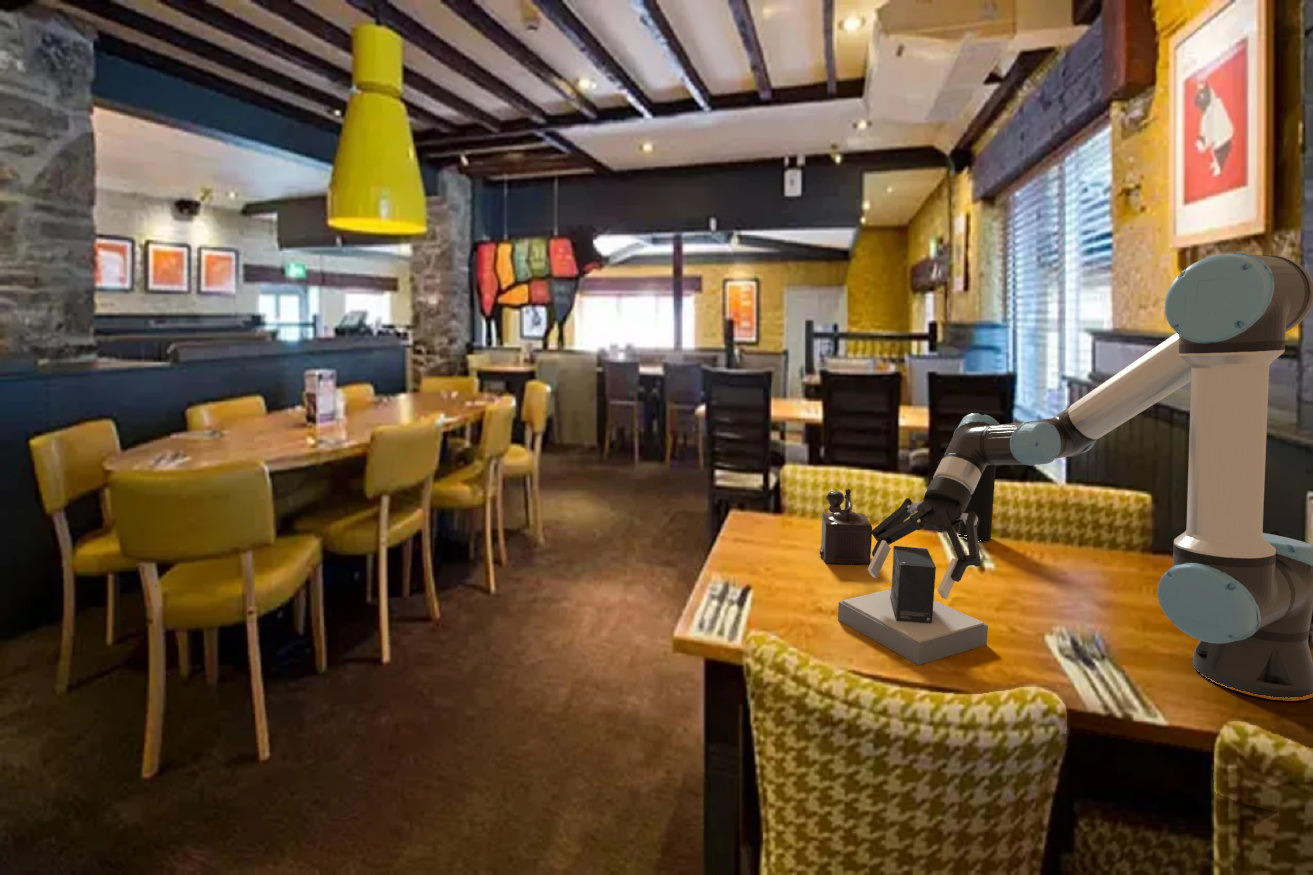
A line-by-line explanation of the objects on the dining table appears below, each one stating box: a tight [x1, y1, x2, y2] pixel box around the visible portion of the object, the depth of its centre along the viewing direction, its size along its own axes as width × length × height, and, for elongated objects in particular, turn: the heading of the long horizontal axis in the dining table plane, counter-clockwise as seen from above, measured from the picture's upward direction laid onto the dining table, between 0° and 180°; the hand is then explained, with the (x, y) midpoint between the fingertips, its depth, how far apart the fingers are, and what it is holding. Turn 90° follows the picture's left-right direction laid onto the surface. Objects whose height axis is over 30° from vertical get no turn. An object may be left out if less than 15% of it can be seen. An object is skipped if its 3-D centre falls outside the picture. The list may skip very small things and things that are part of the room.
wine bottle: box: [957, 465, 997, 543], centre depth 183 cm, size 8×8×30 cm
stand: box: [837, 588, 989, 666], centre depth 132 cm, size 20×16×4 cm
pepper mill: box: [819, 488, 873, 566], centre depth 169 cm, size 16×11×18 cm
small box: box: [890, 545, 937, 623], centre depth 131 cm, size 11×6×10 cm, turn 168°
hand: (905, 584), depth 130 cm, fingers open, 13 cm apart
